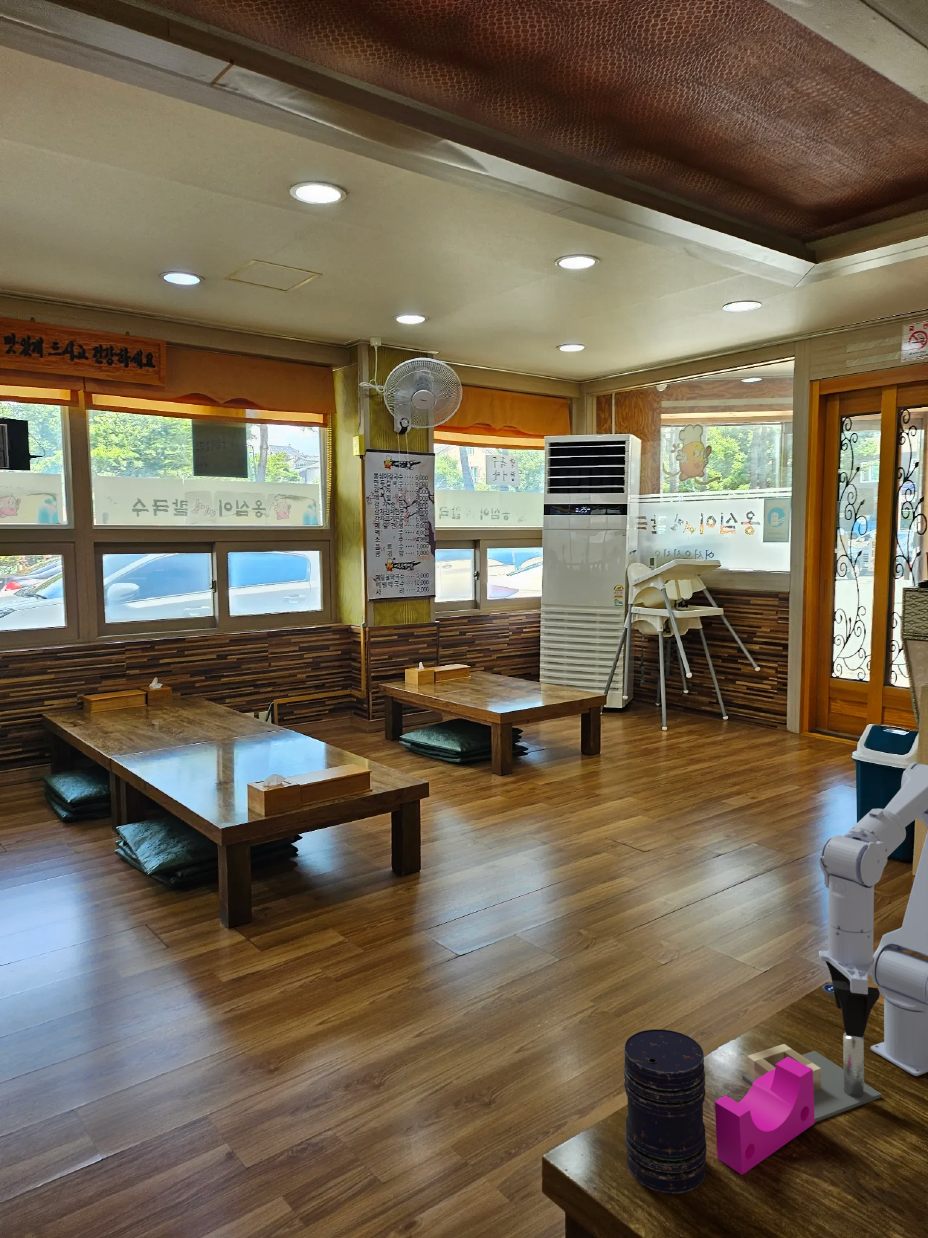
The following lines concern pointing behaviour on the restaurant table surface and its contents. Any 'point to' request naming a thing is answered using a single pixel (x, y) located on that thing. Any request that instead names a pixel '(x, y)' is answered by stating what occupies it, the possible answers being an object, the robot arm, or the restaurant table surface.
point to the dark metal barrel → (665, 1110)
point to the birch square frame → (768, 1058)
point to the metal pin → (853, 1065)
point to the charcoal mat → (832, 1089)
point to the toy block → (765, 1115)
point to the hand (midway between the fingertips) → (849, 1021)
